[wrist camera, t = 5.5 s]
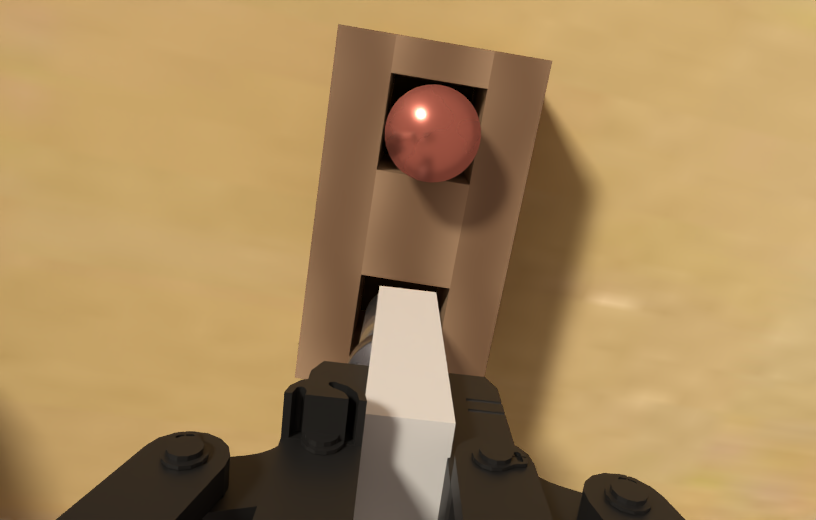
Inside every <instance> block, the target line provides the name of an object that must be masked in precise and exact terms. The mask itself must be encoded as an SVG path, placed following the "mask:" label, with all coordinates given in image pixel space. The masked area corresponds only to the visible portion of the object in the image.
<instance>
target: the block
mask: <svg viewBox="0 0 816 520" xmlns="http://www.w3.org/2000/svg"><path fill="white" fill-rule="evenodd" d="M551 64H552V61H550V60H544V59H538V58H532V57H526V56H521V55H515V54H509V53H503V52H497V51H491V50H485V49H480V48H474V47H468V46H462V45H456V44H450V43H445V42H439V41H433V40H427V39H421V38H415V37H410V36H404V35H398V34H392V33H386V32H380V31H374V30H369V29H363V28H357V27H351V26H345V25H339V24H338V31H337V39H336V47H335V55H334V64H333V72H332V80H331V88H330V96H329V104H328V112H327V121H326V129H325V137H324V145H323V153H322V161H321V169H320V177H319V186H318V194H317V202H316V210H315V218H314V226H313V234H312V242H311V251H310V259H309V267H308V275H307V283H306V291H305V299H304V307H303V316H302V324H301V332H300V340H299V348H298V356H297V364H296V372H295V378H302V379H308V378H309V375H310V372H311V370H312V369H314V368H315V367H316V366H318V365H319V364H320V363H322V362H323V361H330V362H339V363H348V360H349V357H350V355H351V353H352V352H353V350H354V349H355V347H356V346H357V345H358V344H359V341H360V336H361V331H362V327H363V322H364V317H365V313H366V311H363V310H360V307H361V301H362V294H363V287H364V281H365V275H367V276H373V277H380V278H386V279H392V280H399V281H405V282H411V283H418V284H424V285H430V286H437V291H436V295H437V301H438V308H439V315H440V322H441V328H442V335H443V342H444V349H445V355H446V362H447V369H448V373H454V374H463V375H472V376H481V377H484V376H485V371H486V367H487V362H488V357H489V353H490V348H491V343H492V339H493V334H494V329H495V325H496V320H497V315H498V311H499V306H500V301H501V297H502V292H503V288H504V283H505V278H506V274H507V269H508V264H509V260H510V255H511V250H512V246H513V241H514V236H515V232H516V227H517V222H518V218H519V213H520V209H521V204H522V199H523V195H524V190H525V185H526V181H527V176H528V171H529V167H530V162H531V157H532V153H533V148H534V143H535V139H536V134H537V130H538V125H539V120H540V116H541V111H542V106H543V102H544V97H545V92H546V88H547V83H548V78H549V74H550V69H551ZM395 75H399V76H405V77H411V78H417V79H423V80H429V81H435V82H441V83H447V84H453V85H458V86H464V87H470V88H474V91H473V96H472V102H471V104H472V105H473V107H474V109H475V110H476V112H477V115H478V117H479V121H480V126H481V140H480V145H479V149H478V151H477V154H476V156H475V158H474V159H473V161H472V162H471V164H470V165H469V166H468V167H467V168H466V169H465V170H464V171H463V172H462V173H460V174H459V175H457V176H455V177H453V178H451V179H449V180H446V181H442V182H423V181H419V180H416V179H413V178H411V177H409V176H408V175H406V174H405V173H403V172H402V171H401V170H400V169H399V168H398V167H397V166H396V165H395V164H394V162H393V161H392V159H391V157H390V155H384V147H385V125H386V120H387V118H388V115H389V113H390V107H391V101H392V94H393V87H394V81H395Z"/></svg>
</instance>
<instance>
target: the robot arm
mask: <svg viewBox="0 0 816 520" xmlns="http://www.w3.org/2000/svg"><path fill="white" fill-rule="evenodd" d="M56 520H685V519H684V518H683V517H682V516H681V515H680V514H679V513H678V512H677V511H676V510H675V508H674V507H673V506H672V505H671V504H670V503H669V502H668V501H667V500H666V499H665V498H664V497H663V496H662V495H660V494H659V493H658V492H657V491H655V490H654V489H653V488H652V487H650V486H648V485H646V484H644V483H642V482H640V481H638V480H637V479H635V478H632V477H629V476H628V477H627V476H626V475H621V474H609V473H602V474H598V475H593V476H591V477H590V478H589V479H588V480H586V481H585V484H584V488H583V492H582V493H581V492H577V491H574V490H571V489H568V488H564V487H561V486H558V485H555V484H553V483H550V482H548V481H545V480H544V479H542V478H540V477H538V474H537V471H536V468H535V465H534V463H533V462H532V460H531V458H530V457H529V455H528V454H526V453H525V452H524V451H522V450H521V449H520V448H519V447H517V446H515V445H514V442H513V439H512V436H511V432H510V429H509V426H508V423H507V419H506V416H505V415H504V409H503V406H502V405H501V399H500V396H499V393H498V390H497V388H496V387H495V386H494V385H493V384H491V383H490V382H489V381H488V380H487V379H486V378H485V377H481V376H472V375H463V374H454V373H448V369H447V362H446V355H445V349H444V342H443V335H442V328H441V322H440V315H439V308H438V301H437V295H436V292H429V291H421V290H412V289H403V288H395V287H386V286H379V294H378V302H377V309H376V317H375V325H374V332H373V340H372V348H371V356H370V363H369V366H366V365H357V364H348V363H339V362H330V361H323V362H322V363H320V364H319V365H318V366H316V367H315V368H314V369H312V370H311V372H310V375H309V378H308V379H304V380H300V381H298V382H296V383H294V384H292V385H290V386H289V387H288V389H287V390H286V391H285V392H284V405H283V418H282V431H281V439H280V442H279V445H278V446H277V447H275V448H273V449H271V450H268V451H265V452H262V453H259V454H253V455H246V456H236V457H230V452H229V446H228V445H227V444H226V443H225V442H224V441H223V440H222V439H220V438H218V437H215V436H213V435H211V434H208V433H200V432H193V431H186V432H178V433H173V434H170V435H166V436H163V437H159V438H158V439H156V440H154V441H152V442H151V443H149V444H147V445H146V446H145V447H143V448H142V449H141V450H140V451H139V452H137V453H136V454H135V455H134V456H132V457H131V458H130V459H129V460H128V461H126V462H125V463H124V464H123V465H122V466H120V467H119V468H118V469H117V470H115V471H114V472H113V473H112V474H111V475H109V476H108V477H107V478H106V479H105V480H103V481H102V482H101V483H100V484H99V485H97V486H96V487H95V488H94V489H92V490H91V491H90V492H89V493H88V494H86V495H85V496H84V497H83V498H82V499H80V500H79V501H78V502H77V503H75V504H74V505H73V506H72V507H71V508H69V509H68V510H67V511H66V512H65V513H63V514H62V515H61V516H60V517H59V518H57V519H56Z"/></svg>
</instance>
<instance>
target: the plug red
mask: <svg viewBox="0 0 816 520" xmlns="http://www.w3.org/2000/svg"><path fill="white" fill-rule="evenodd" d="M480 140H481V126H480V121H479V117H478V115H477V112H476V110H475V109H474V107H473V105H472V104H471V103H470V101H469V100H468V99H467V98H466V97H465V96H464V95H462V94H461V93H460V92H458V91H456V90H455V89H452V88H450V87H447V86H443V85H435V84H433V85H423V86H419V87H416V88H414V89H412V90H410V91H408V92H407V93H405V94H404V95H403V96H402V97H400V98H399V100H398V101H397V102H396V103H395V104H394V106H393V107H392V109H391V111H390V113H389V115H388V118H387V120H386V125H385V143H386V147H387V150H388V153H389V155H390V157H391V159H392V161H393V162H394V164H395V165H396V166H397V167H398V168H399V169H400V170H401V171H402V172H403V173H405V174H406V175H408V176H409V177H411V178H413V179H416V180H419V181H423V182H442V181H446V180H449V179H451V178H453V177H455V176H457V175H459V174H460V173H462V172H463V171H464V170H465V169H466V168H467V167H468V166H469V165H470V164H471V162H472V161H473V159H474V158H475V156H476V154H477V151H478V149H479V145H480Z"/></svg>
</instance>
